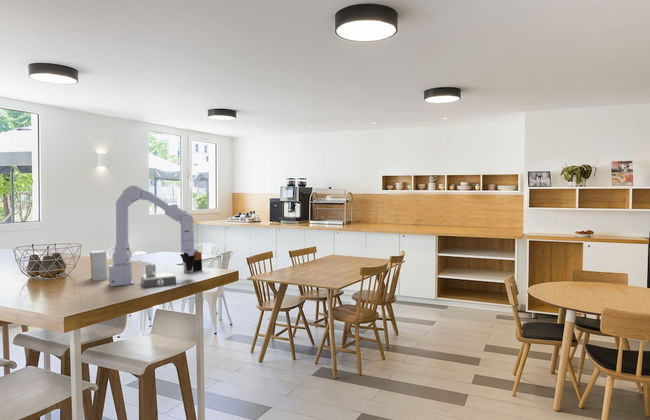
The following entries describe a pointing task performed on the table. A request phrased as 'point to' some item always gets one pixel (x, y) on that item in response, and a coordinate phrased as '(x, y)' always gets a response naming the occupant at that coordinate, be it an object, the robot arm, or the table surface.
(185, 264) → the steel spacer
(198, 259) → the battery
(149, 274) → the block
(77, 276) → the table surface
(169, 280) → the kitchen scale
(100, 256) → the small box
